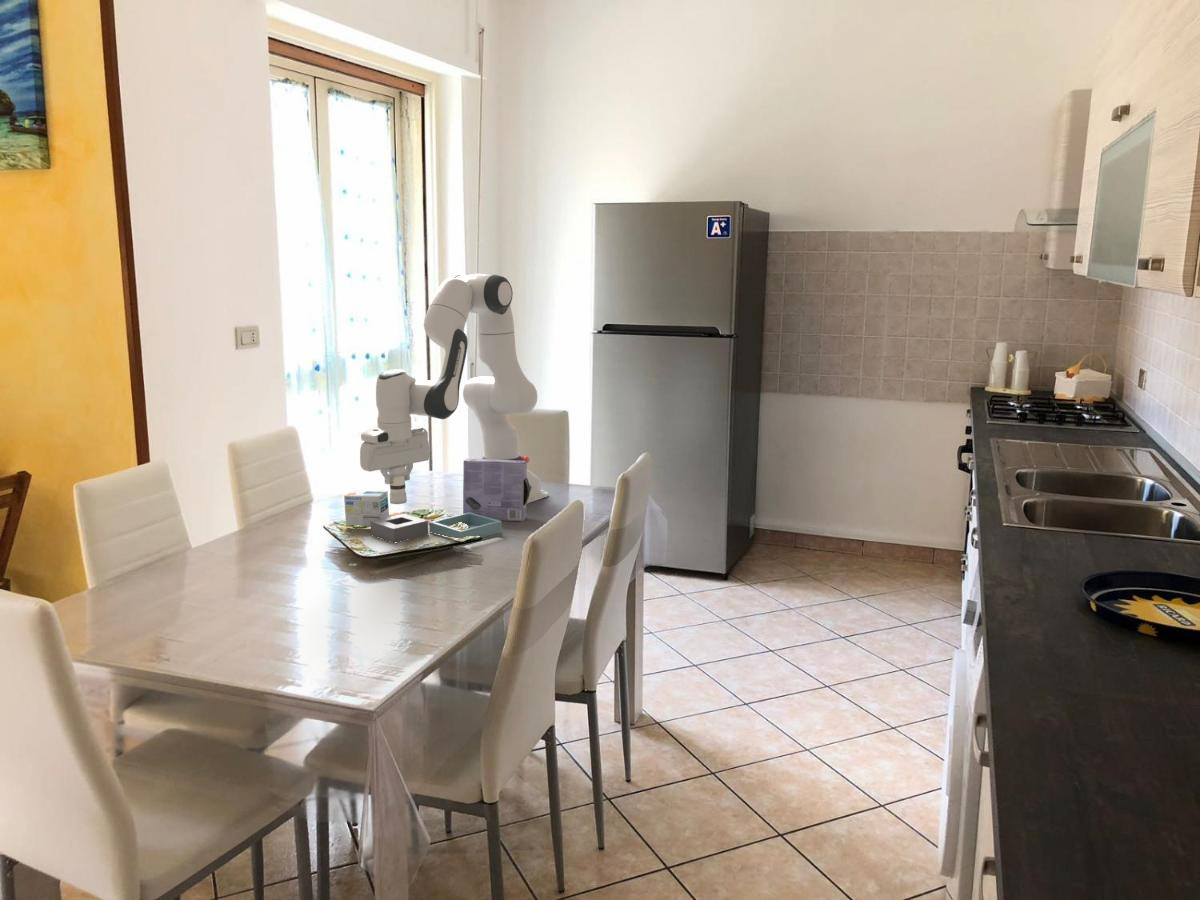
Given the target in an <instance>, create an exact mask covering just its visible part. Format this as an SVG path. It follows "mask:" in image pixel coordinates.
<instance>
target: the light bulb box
mask: <svg viewBox="0 0 1200 900" xmlns="http://www.w3.org/2000/svg"><path fill="white" fill-rule="evenodd" d="M388 492H389V491H388V490H356V489H355V490H354V489H353V490H351V491H349V492H348V493H346V494H345V495H344V497H343V499H344V514H345V526H346V525H361V526H367V527H371V525H370V521H373V520H378V519H382V518H386V517H390V511H389V510H390V509H389V508H390V507H389V496H388V495H389V494H388Z"/></svg>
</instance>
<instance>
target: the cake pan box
mask: <svg viewBox="0 0 1200 900" xmlns="http://www.w3.org/2000/svg"><path fill="white" fill-rule="evenodd" d="M527 464H528V463H527V461H515V460H494V459H482V458H466V459H465V458H464V460H463V466H462V467H463V468H462V469H463V475H462V476H463V477H462V478H463V479H462V483H463V485H462V487H463V488H462V494H463V495H462V499H463V500H462V501H463V502H462V514H464V513H468V512H471V513H474V514H478V515H481V516H485V517H488V518H492V519H495V520H499V521H505V522H508V521H509V522H524V521H526V519H527V504H526V503H527V500H528V498H529V494H530V486H529V482H528V479H527V468H528V466H527Z"/></svg>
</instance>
